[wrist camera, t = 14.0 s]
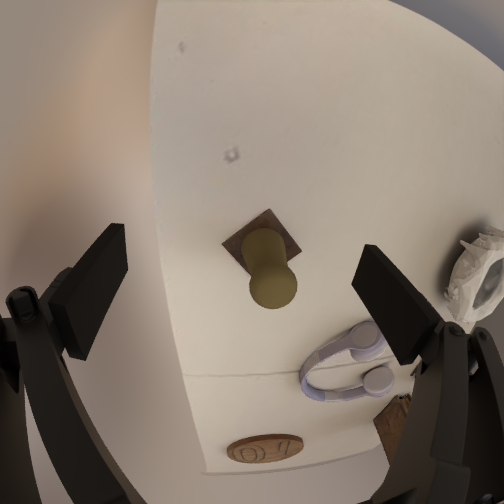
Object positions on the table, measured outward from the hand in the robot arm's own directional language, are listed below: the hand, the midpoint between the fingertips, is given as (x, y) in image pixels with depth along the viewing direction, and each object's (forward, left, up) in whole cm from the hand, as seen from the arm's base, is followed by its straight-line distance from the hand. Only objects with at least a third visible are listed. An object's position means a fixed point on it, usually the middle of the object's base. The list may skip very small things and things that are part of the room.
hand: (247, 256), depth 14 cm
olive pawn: (+10, -3, -21) cm, 24 cm away
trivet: (+70, -45, -22) cm, 86 cm away
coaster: (+10, -3, -21) cm, 24 cm away
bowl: (+41, +29, -22) cm, 55 cm away
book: (+83, -5, -22) cm, 86 cm away
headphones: (+44, -6, -22) cm, 50 cm away
